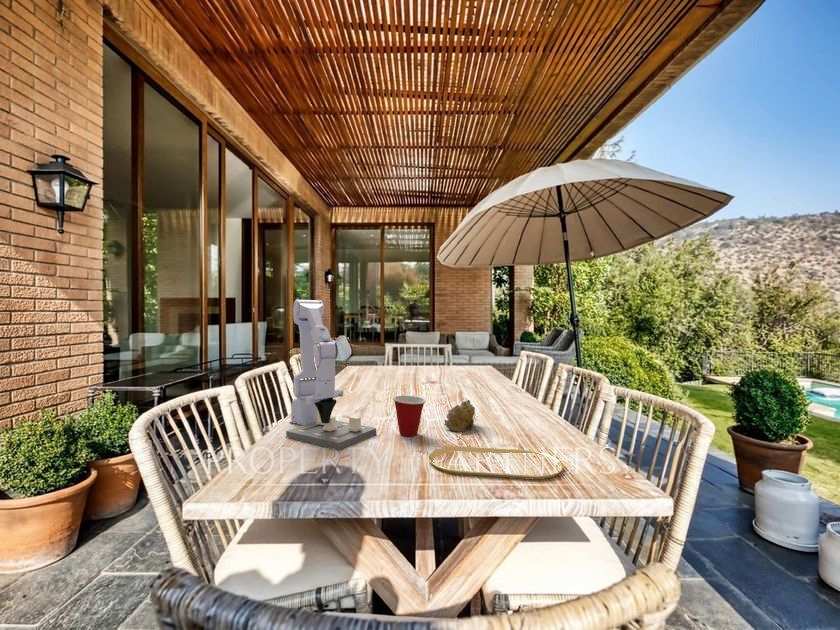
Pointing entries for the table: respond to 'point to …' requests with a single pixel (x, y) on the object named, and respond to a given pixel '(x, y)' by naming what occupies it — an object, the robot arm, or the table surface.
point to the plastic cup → (408, 414)
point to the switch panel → (330, 435)
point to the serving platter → (483, 450)
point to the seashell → (461, 417)
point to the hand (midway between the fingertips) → (325, 422)
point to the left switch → (319, 419)
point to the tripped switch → (330, 424)
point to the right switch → (354, 423)
